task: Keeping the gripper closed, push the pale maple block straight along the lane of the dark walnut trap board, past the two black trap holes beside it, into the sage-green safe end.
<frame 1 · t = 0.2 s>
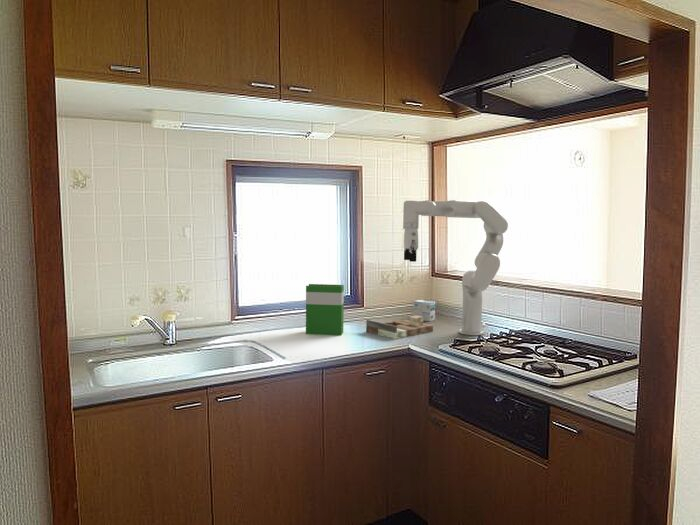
hand: (410, 260, 257), 37 cm above the worktop, tool pointing down, fingers open, 9 cm apart
green cereal box: (324, 333, 259), on the worktop
maple block: (416, 324, 268), point 3 cm above the worktop, touching trap board
light bulb box: (424, 320, 297), on the worktop
trap board: (399, 331, 265), on the worktop
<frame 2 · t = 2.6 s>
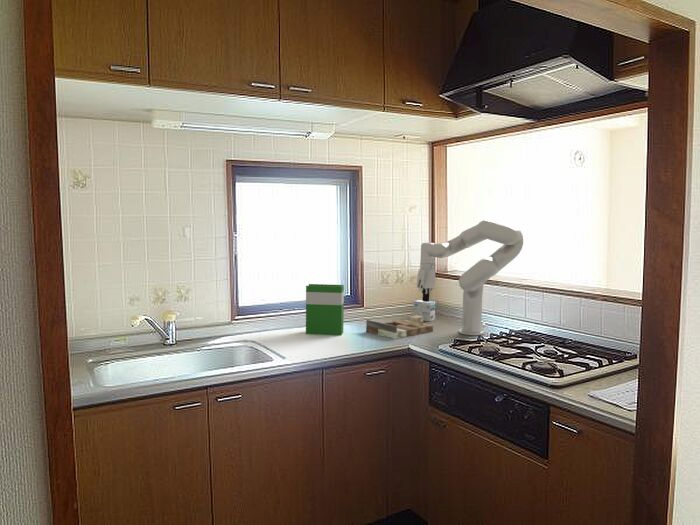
hand: (425, 301, 273), 14 cm above the worktop, tool pointing down, fingers closed
nothing on the worktop moved.
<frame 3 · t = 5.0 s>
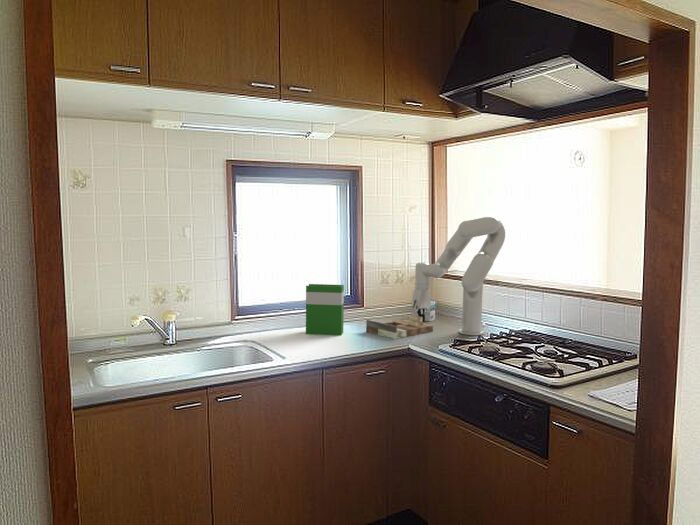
hand: (421, 321, 271), 4 cm above the worktop, tool pointing down, fingers closed
maple block: (415, 324, 268), point 3 cm above the worktop, touching gripper
everything else where it was.
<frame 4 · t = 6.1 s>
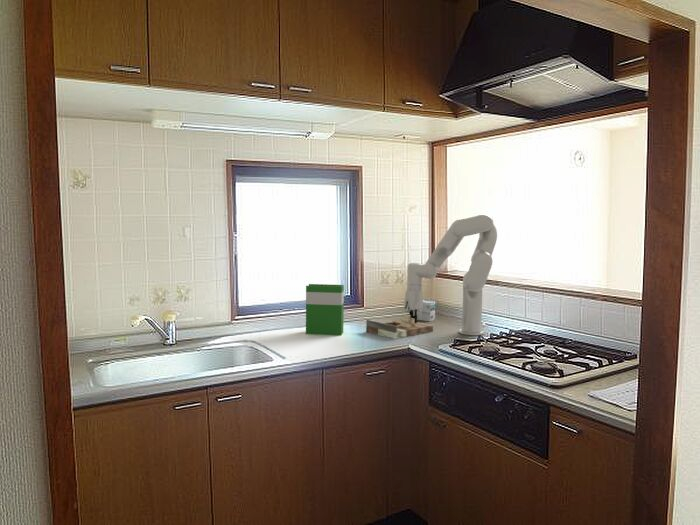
hand: (413, 322, 267), 4 cm above the worktop, tool pointing down, fingers closed
maple block: (407, 326, 264), point 3 cm above the worktop, touching gripper, trap board
everything else where it was.
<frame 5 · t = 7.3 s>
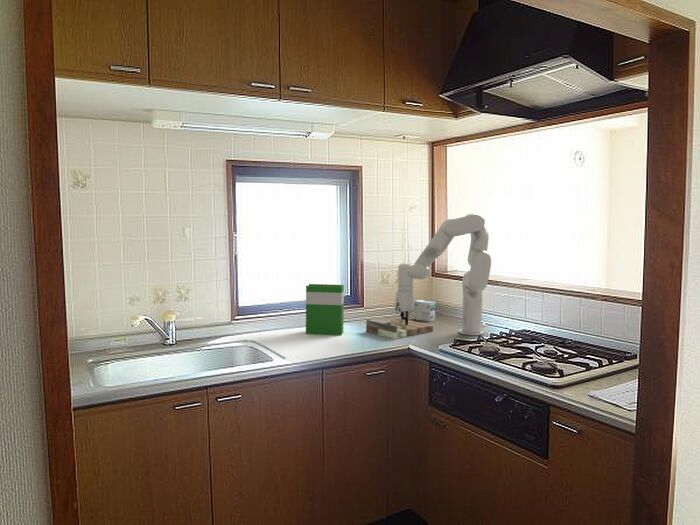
hand: (404, 324, 262), 4 cm above the worktop, tool pointing down, fingers closed
maple block: (397, 327, 259), point 3 cm above the worktop, touching gripper
everything else where it was.
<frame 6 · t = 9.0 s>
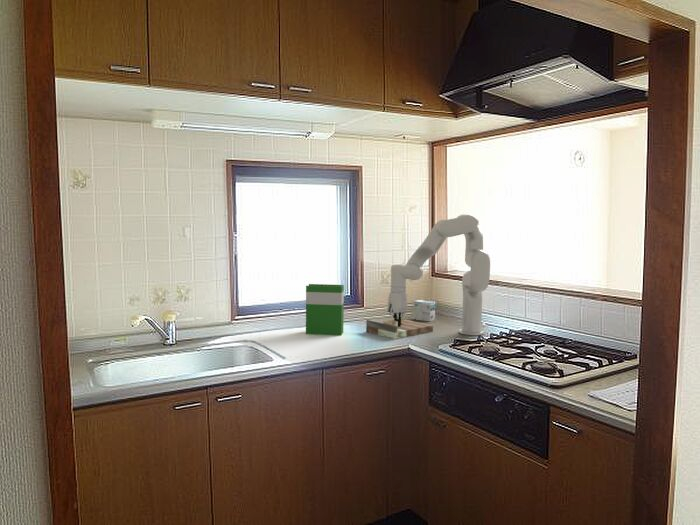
hand: (397, 326, 259), 4 cm above the worktop, tool pointing down, fingers closed
maple block: (390, 329, 256), point 3 cm above the worktop, touching gripper, trap board
everything else where it was.
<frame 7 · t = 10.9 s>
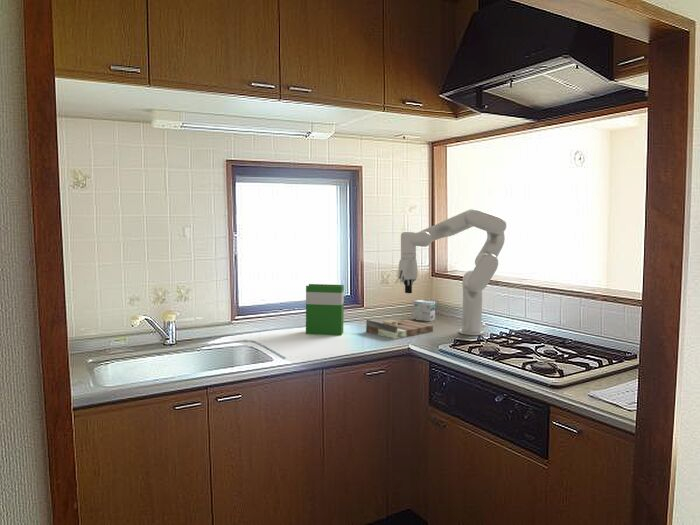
hand: (408, 292, 262), 20 cm above the worktop, tool pointing down, fingers closed
maple block: (390, 329, 256), point 3 cm above the worktop, touching trap board
everything else where it was.
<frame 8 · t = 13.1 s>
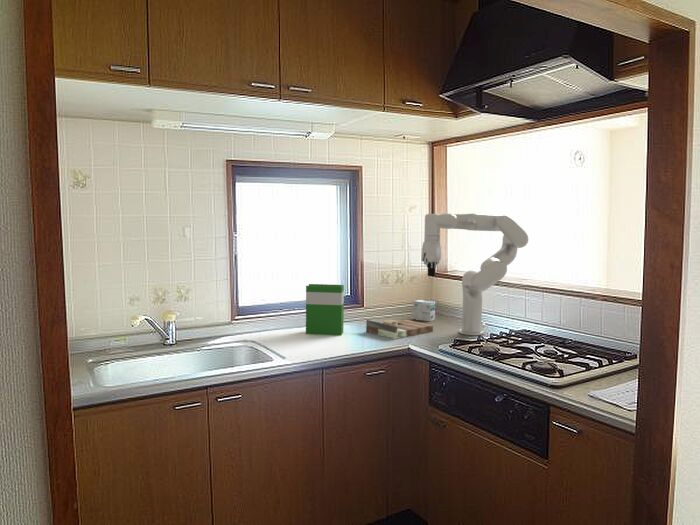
hand: (431, 275, 258), 29 cm above the worktop, tool pointing down, fingers closed
nothing on the worktop moved.
at the end: maple block inside the target area on the trap board (0.7 cm from its centre), point 3.0 cm above the trap board's base; maple block tilted 0° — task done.
